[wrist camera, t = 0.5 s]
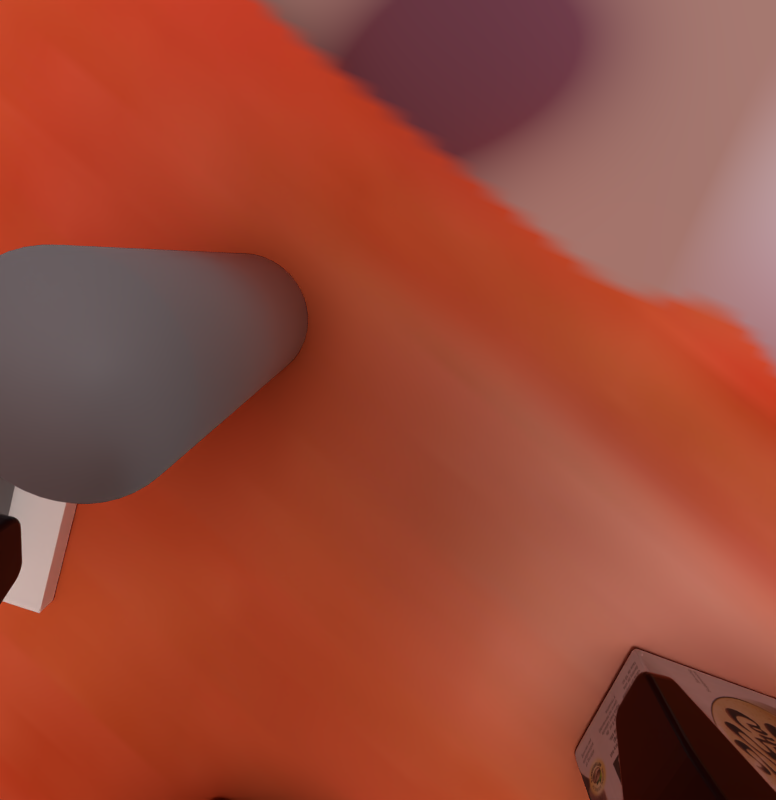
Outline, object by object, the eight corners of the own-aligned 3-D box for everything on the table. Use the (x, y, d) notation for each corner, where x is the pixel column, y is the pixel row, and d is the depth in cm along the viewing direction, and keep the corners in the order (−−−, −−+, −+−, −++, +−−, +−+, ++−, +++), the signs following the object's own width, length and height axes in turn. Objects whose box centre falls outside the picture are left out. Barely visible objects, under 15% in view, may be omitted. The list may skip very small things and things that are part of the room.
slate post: (286, 395, 24) (159, 536, 12) (169, 355, 24) (-84, 456, 11) (324, 278, 23) (228, 299, 11) (201, 235, 23) (-40, 204, 10)
